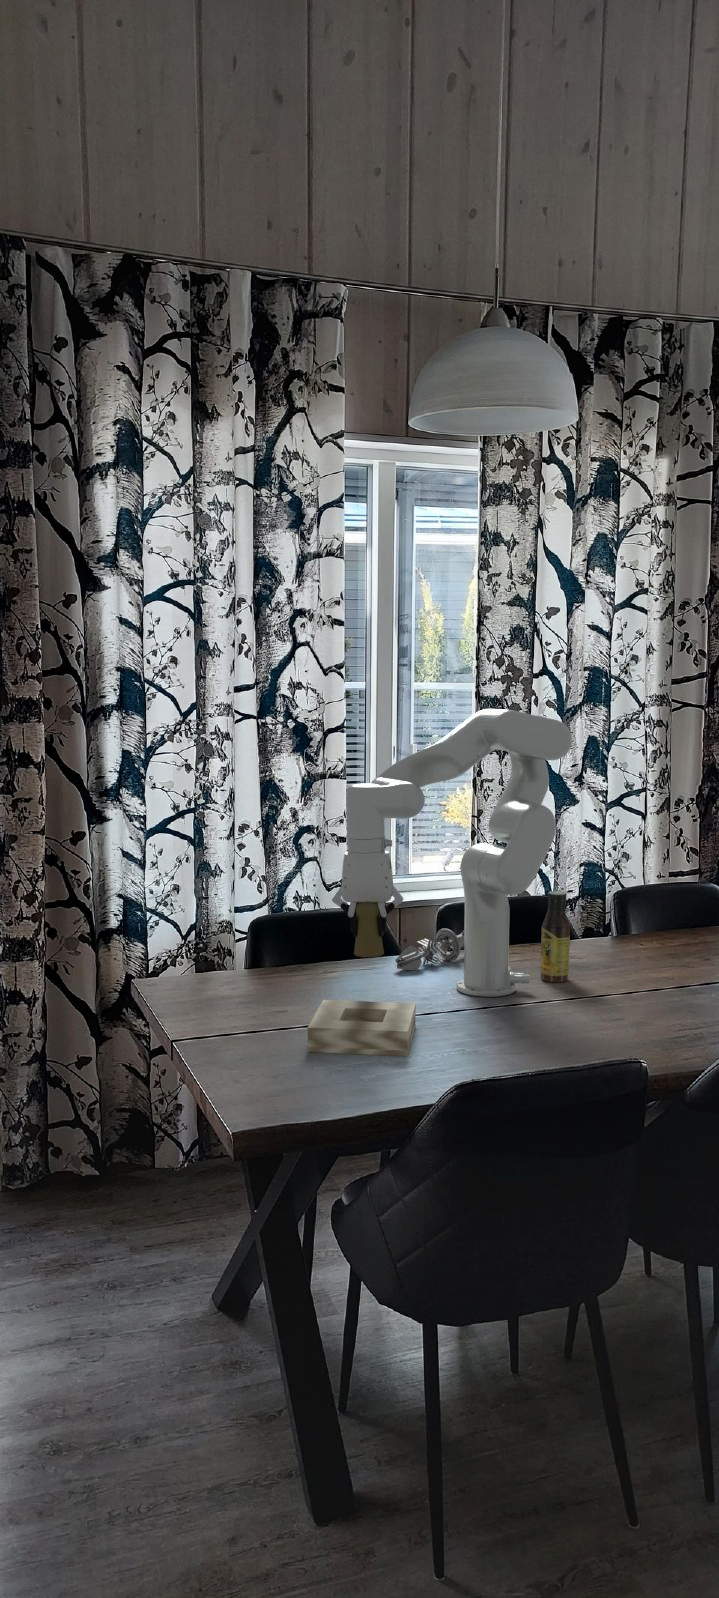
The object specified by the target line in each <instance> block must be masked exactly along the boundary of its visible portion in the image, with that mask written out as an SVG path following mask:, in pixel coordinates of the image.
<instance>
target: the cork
mask: <svg viewBox="0 0 719 1598" xmlns="http://www.w3.org/2000/svg"><path fill="white" fill-rule="evenodd" d="M355 912H356V914H357V916H358V922H357V936H356V937H355V941H354V950H353V951H354V952H353V954H354V956H356V957H359V958H374V957H377V958H378V957H380V956H382V955H384V954H385V951H384V944H383V937H380V936H379V924H378V918H379V916H380V910H379V906H378V903H368V902H366V903H357V904H356V908H355Z"/></svg>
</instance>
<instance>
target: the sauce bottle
mask: <svg viewBox="0 0 719 1598" xmlns="http://www.w3.org/2000/svg"><path fill="white" fill-rule="evenodd" d="M547 900H548V904H547V912H546V913H545V916H544V917H545V918H544V920H543V922H542V925H541V938H540V940H541V942H540V966H539V967H540V968H539V969H540V970H539V971H540V978H541V980H543V981H545V982H548V983H564V982H567V980H568V978H569V976H568V975H569V972H570V971H569V969H570V967H569V966H570V946H571V944H570V943H571V942H570V941H571V939H570V938H571V934H570V933H571V932H570V931H571V930H570V929H571V928H570V927H571V924H570V919H569V918H568V917H567V914H566V900H567V892H565V891H563V890H562V891H561V890H550V891H549V892H548V893H547Z"/></svg>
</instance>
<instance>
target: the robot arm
mask: <svg viewBox="0 0 719 1598" xmlns="http://www.w3.org/2000/svg"><path fill="white" fill-rule="evenodd" d="M572 743H573V736H572V733H571V730H570V729H569V727H568V726H567V725H566V724H565V723H564V722H562V721H560V720H559V719H558V720H557V719H553V718H549V717H544V716H539V715H534V714H530V713H526V712H522V711H518V710H513V709H503V708H502V709H499V708H484V709H482V710H478V711H477V712H475V713H474V714H472V715H471V716H470V717H469V718H467V719H466V720H464V721H463V722H462V723H460V724H459V725H458V726H457V727H455V728H454V729H453V730H451V731H450V732H449V733H448V734H446V735H445V736H443V737H442V738H441V739H439V740H438V741H437V742H435V743H434V744H431V745H429V746H427V747H423V749H420V750H419V751H416V752H414V753H413V754H410V755H408V756H406V757H404V758H402V759H400V760H398V761H397V762H395V763H393V764H392V765H390V766H389V767H388V768H386V769H385V770H384V771H382V772H381V773H379V775H377V776H376V777H375V778H374V779H373V780H372V781H371V782H369V783H356V784H351V785H349V786H348V787H347V788H346V791H345V800H346V801H345V803H346V804H345V805H346V807H345V809H346V813H345V814H346V838H347V840H346V841H347V843H346V844H347V845H346V846H347V851H345V852H344V855H343V858H342V859H343V861H342V871H341V872H342V874H341V886H340V888H339V889H338V890H337V892H336V893H335V894H334V896H333V897H332V899H331V901H332V903H333V904H335V905H336V906H337V907H340V908H341V910H342V911H344V912H345V914H346V915H347V916H348V917H349V931H350V933H351V932H352V936H353V937H354V938H356V936H357V922H358V916H357V914H356V912H355V908H356V904H357V903H366V902H368V903H378V906H379V910H380V914H379V915H378V924H379V936H380V937H382V938H383V936H384V935H385V932H387V930H388V924H387V923H388V922H387V919H388V918H387V915H389V914H390V913H391V912H392V911H393V910H394V909H395V908H396V907H397V906H399V905H401V903H403V901H404V897H403V896H402V894H401V892H399V890H398V889H397V887H396V886H395V885H394V876H393V874H394V873H393V865H392V860H391V854H390V851H389V850H386V849H388V848H389V847H391V848H392V847H393V839H388V838H387V837H386V833H385V830H386V829H385V827H386V826H385V819H396V820H397V819H400V820H403V819H406V820H407V819H411V818H414V817H416V816H417V815H419V814H420V813H421V811H422V810H423V808H424V806H425V801H426V800H425V795H424V792H423V790H422V789H421V788H423V787H426V786H428V785H432V784H436V783H441V782H447V781H451V780H453V779H456V778H459V777H461V776H462V775H464V774H465V773H467V772H468V771H469V770H470V769H472V767H475V765H477V763H479V762H480V761H481V760H482V759H484V758H486V756H488V755H489V754H491V753H492V752H494V751H505V752H506V751H507V752H508V754H509V758H510V761H511V762H510V764H511V772H510V776H509V779H508V781H507V783H506V786H505V787H504V790H503V791H502V794H501V795H500V797H499V799H498V801H497V803H496V805H495V807H494V809H493V810H492V812H491V815H490V817H489V820H488V831H489V834H490V835H491V836H492V838H494V839H496V841H499V842H502V843H504V844H507V845H506V846H504V845H497V844H493V843H487V842H481V843H475V844H474V845H471V846H470V847H468V849H466V851H465V852H464V853H463V855H462V858H461V862H460V875H461V881H462V886H463V894H464V895H463V897H464V921H463V922H464V926H463V927H464V930H463V931H464V946H463V978H462V979H460V980H458V981H457V982H456V990H457V991H459V992H460V993H462V994H465V995H469V996H474V997H485V998H487V997H488V998H489V997H490V998H491V997H492V998H493V997H504V996H507V995H511V994H513V993H514V992H515V991H516V984H523V985H525V984H526V985H530V983H531V982H530V980H531V979H530V974H525V973H523V972H513V971H511V966H509V960H510V959H509V958H510V957H509V955H510V954H509V953H510V952H509V951H510V947H509V945H510V904H509V898H508V896H516V895H519V894H522V893H524V892H525V891H526V890H527V889H528V888H529V887H530V886H531V884H533V881H534V879H535V878H536V876H537V874H538V872H539V870H540V868H541V867H542V865H543V862H544V860H545V858H546V856H547V855H548V852H549V850H550V848H551V846H552V845H553V842H554V840H555V835H556V831H557V822H556V818H555V815H554V813H553V811H552V810H551V809H550V808H549V807H547V806H545V805H544V804H542V803H543V802H544V799H545V797H546V794H547V792H548V789H549V786H550V775H549V769H548V765H547V762H546V761H558V760H560V759H562V758H563V757H564V758H565V756H566V755H567V754H568V753H569V752H570V749H571V747H572ZM392 897H393V898H394V899H393V900H392V901H391V899H392ZM389 901H390V902H389ZM387 902H389V903H388V904H387Z"/></svg>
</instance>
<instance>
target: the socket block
mask: <svg viewBox="0 0 719 1598" xmlns="http://www.w3.org/2000/svg"><path fill="white" fill-rule="evenodd" d="M416 1006H417V1004H416V1002H396V1001H395V1002H389V1001H387V1002H386V1001H365V1000H364V1001H363V1000H361V1001H360V1000H338V999H337V1000H334V999H323V1000H322V1002H321V1003H320V1005H319V1006H318V1008H317V1010H316V1011H315V1014H314V1015H313V1017H312V1019H311V1021H310V1023H309V1024H308V1026H307V1052H308V1053H322V1054H323V1053H325V1054H343V1055H344V1054H349V1055H351V1054H352V1055H366V1056H367V1055H369V1056H370V1055H372V1056H373V1055H375V1056H391V1057H392V1056H393V1057H394V1056H395V1057H396V1056H397V1057H408V1056H409V1053H410V1049H411V1045H412V1040H413V1037H414V1034H415V1029H416V1023H417V1021H416V1019H417V1018H416V1017H417V1016H416V1012H417V1011H416V1010H417V1009H416V1008H417V1007H416Z"/></svg>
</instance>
